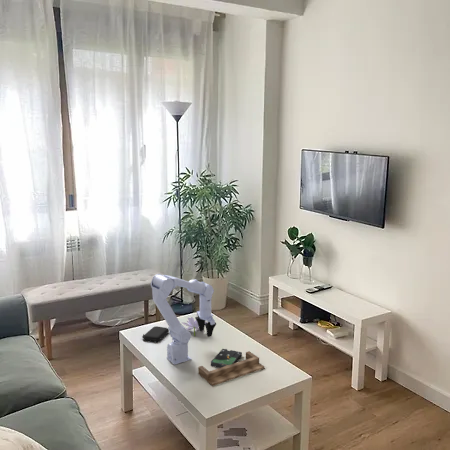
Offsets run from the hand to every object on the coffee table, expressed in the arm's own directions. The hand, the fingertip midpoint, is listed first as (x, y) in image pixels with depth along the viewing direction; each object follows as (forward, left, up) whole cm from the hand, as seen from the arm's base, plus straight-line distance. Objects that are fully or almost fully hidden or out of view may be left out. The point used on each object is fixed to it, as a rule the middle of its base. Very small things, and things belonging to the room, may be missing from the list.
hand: (205, 333), depth 230 cm
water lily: (+6, +20, -9) cm, 23 cm away
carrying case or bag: (-14, +28, -9) cm, 33 cm away
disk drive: (+2, -15, -9) cm, 18 cm away
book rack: (-1, -26, -9) cm, 27 cm away
